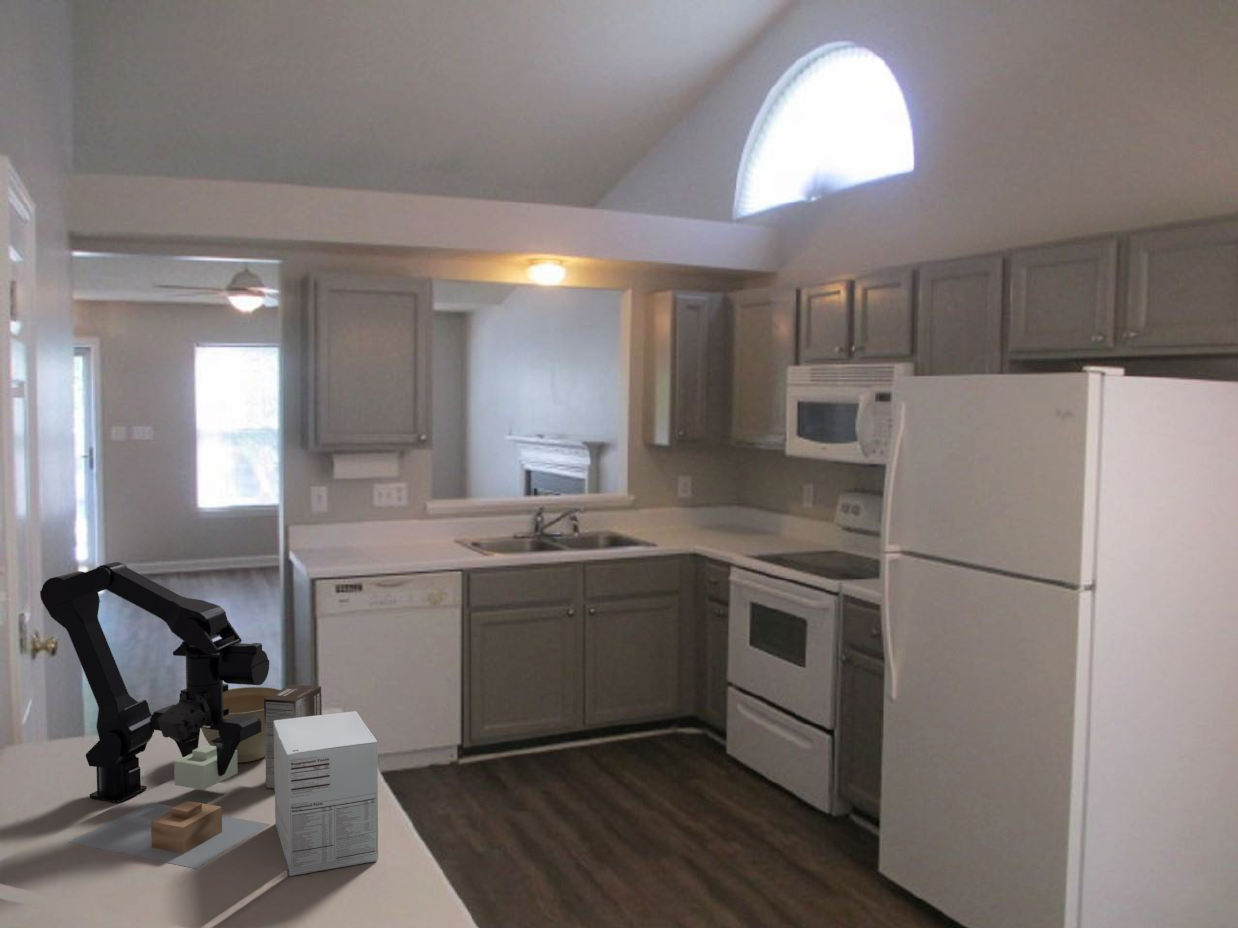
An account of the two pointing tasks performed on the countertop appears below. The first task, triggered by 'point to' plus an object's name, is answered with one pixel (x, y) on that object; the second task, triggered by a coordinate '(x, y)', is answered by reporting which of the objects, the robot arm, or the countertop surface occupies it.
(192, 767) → the upper brick
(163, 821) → the lower brick
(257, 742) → the planter bowl
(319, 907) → the countertop surface
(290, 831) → the supplement box
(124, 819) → the base plate
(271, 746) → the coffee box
